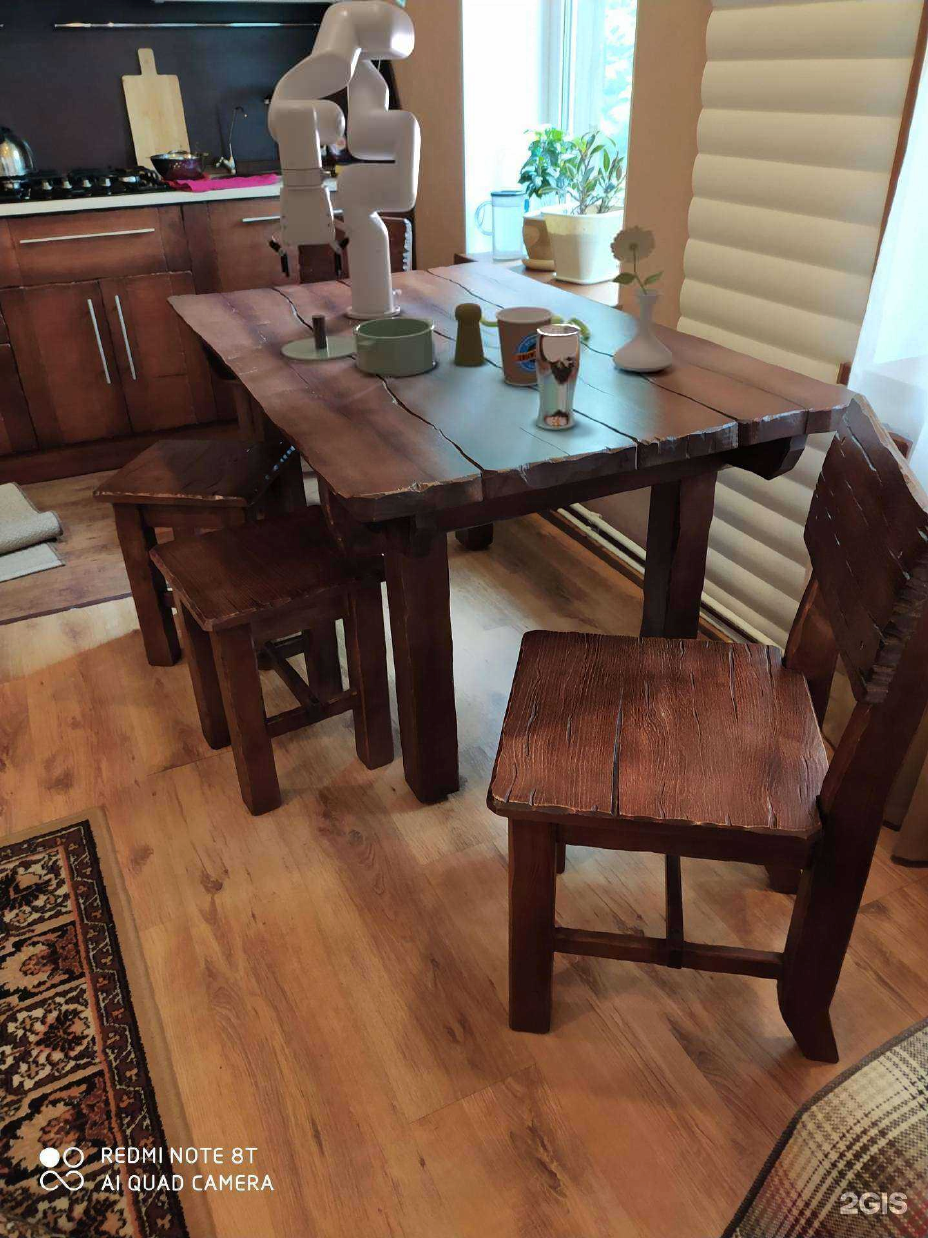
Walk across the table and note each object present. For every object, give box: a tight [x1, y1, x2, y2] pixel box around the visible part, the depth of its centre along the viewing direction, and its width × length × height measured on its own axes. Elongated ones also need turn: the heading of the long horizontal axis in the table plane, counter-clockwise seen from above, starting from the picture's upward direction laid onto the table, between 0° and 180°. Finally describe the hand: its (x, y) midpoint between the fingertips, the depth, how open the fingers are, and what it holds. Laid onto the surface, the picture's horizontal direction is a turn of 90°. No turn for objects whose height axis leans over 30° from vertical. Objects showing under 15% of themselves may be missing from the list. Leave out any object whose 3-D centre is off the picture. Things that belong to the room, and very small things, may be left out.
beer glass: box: [535, 323, 581, 431], centre depth 142 cm, size 7×7×15 cm
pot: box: [352, 316, 436, 378], centre depth 174 cm, size 15×21×7 cm
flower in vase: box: [609, 224, 675, 373], centre depth 163 cm, size 13×11×25 cm
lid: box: [281, 314, 355, 362], centre depth 183 cm, size 16×16×7 cm
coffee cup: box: [494, 306, 555, 387], centre depth 162 cm, size 10×10×12 cm
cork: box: [453, 302, 486, 367], centre depth 173 cm, size 6×6×11 cm
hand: (313, 275), depth 177 cm, fingers open, 9 cm apart
